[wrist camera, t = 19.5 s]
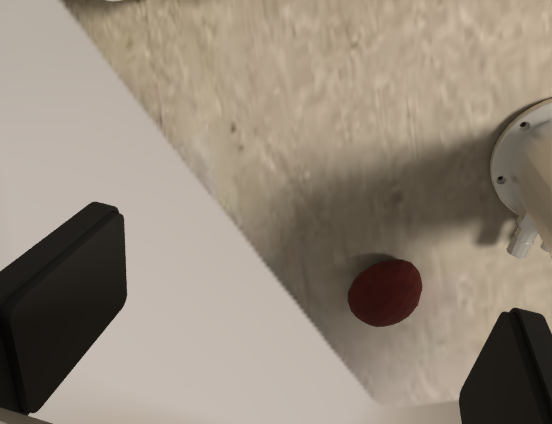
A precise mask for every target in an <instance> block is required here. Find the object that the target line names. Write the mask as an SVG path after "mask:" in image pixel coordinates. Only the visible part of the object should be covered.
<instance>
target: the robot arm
mask: <svg viewBox="0 0 552 424" xmlns="http://www.w3.org/2000/svg"><path fill="white" fill-rule="evenodd" d="M522 122H525V124H524V125H523V126H520V124H521V123H522ZM490 176H491V182H492V184H493V187H494V189H495V191H496V193H497V195H498V197H499V198H500V200H501V201H502V202H503V203H504V204H505V205H506V206H507V208H509V209H510V210H512V211H513V212H514V213H516V214H517V215H519V216H518V218H517V220H516V223H517V224H518V228H517V231H516V233H515V234H514V235H513V237H512V239H511V241H510V243H509V245H508V247H507V252H508V253H509V254H511V255H512V256H514V257H517V258H526V257H527V255H528V254H529V252H530V250H531V248H532V246H533V244H534V239H535V237H536V235H537V233H539V235H540V237H541V239H542V240H543V242H542V244H541V248H542V249H543V250H545V251H547V252H549V253H550V255H551V257H552V99H548V100H545V101H543V102H541V103H539V104H537V105H534V106H532V107H531V108H529V109H528V110H526V111H525V112H523V113H522V114H520V115H519V116H518V117H517V118H515V119H514V120H513V121H512V122H511V123H510V124H509V125H508V126H507V127H506V129H505V130H504V131H503V133H502V134H501V135H500V137H499V139H498V140H497V142H496V144H495V146H494V149H493V152H492V156H491V159H490ZM500 176H502V178H500V179H498V177H500ZM126 297H127V283H126V257H125V233H124V217H123V215H122V214H120V213H119V211H118V209H117V208H116V207H115V206H111V205H107V204H103V203H99V202H92V203H90V204H89V205H87V206H86V207H85V208H83V209H82V210H81V211H79V212H78V213H77V214H75V215H74V216H73V217H72V218H70V219H69V220H68V221H66V222H65V223H64V224H62V225H61V226H60V227H58V228H57V229H56V230H54V231H53V232H52V233H50V234H49V235H48V236H47V237H45V238H44V239H42V240H41V241H40V242H39V243H37V244H36V245H35V246H33V247H32V248H31V249H29V250H28V251H27V252H25V253H24V254H23V255H21V256H20V257H19V258H18V259H16V260H15V261H14V262H12V263H11V264H10V265H8V266H7V267H6V268H4V269H3V270H2V271H0V424H52V423H49V422H46V421H42V420H39V419H36V418H32V417H29V416H28V414H29V413H35V412H37V411H38V410H39V409H40V408H41V407H42V406H43V405H44V403H45V402H46V401H47V400H48V398H49V397H50V396H51V395H52V393H53V392H54V391H55V390H56V389H57V387H58V386H59V385H60V384H61V383H62V381H63V380H64V379H65V378H66V376H67V375H68V374H69V373H70V372H71V370H72V369H73V368H74V367H75V365H76V364H77V363H78V362H79V360H80V359H81V358H82V357H83V356H84V354H85V353H86V352H87V351H88V349H89V348H90V347H91V346H92V344H93V343H94V342H95V341H96V340H97V338H98V337H99V336H100V335H101V334H102V332H103V331H104V330H105V329H106V327H107V326H108V325H109V324H110V322H111V321H112V320H113V319H114V318H115V316H116V315H117V314H118V313H119V311H120V310H121V309H122V308H123V306H124V303H125V301H126ZM459 406H460V413H461V420H462V424H552V334H551V331H550V329H549V327H548V324H547V322H546V320H545V318H544V316H543V315H541V314H539V313H535V312H531V311H527V310H523V309H519V308H513V309H512V310H510V312H502V313H501V314H500V316H499V318H498V320H497V322H496V323H495V325H494V327H493V329H492V331H491V333H490V335H489V337H488V339H487V341H486V343H485V345H484V347H483V348H482V350H481V352H480V354H479V356H478V358H477V360H476V362H475V364H474V366H473V368H472V370H471V371H470V373H469V375H468V377H467V379H466V381H465V383H464V385H463V387H462V389H461V392H460V397H459Z"/></svg>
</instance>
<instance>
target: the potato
mask: <svg viewBox="0 0 552 424" xmlns="http://www.w3.org/2000/svg"><path fill="white" fill-rule="evenodd" d="M421 291H422V282H421V277H420V273H419V271H418V270H417V269H416V267H415V266H414V265H413V264H412V263H411V262H408V261H405V260H388V261H384V262H381V263H378V264H375V265H373V266H371V267H370V268H368V269H366V270H365V271H363V272H361V273H360V274H359V275H358V276H357V278H356V279H355V280H354V281H353V283H352V285H351V287H350V289H349V292H348V303H349V306H350V309H351V311H352V312H353V314H354V315H355V316H356V317H357V318H358V319H360V320H361V321H362V322H364V323H367V324H369V325H371V326H375V327H383V326H389V325H393V324H396V323H398V322H400V321H402V320H404V319H405V318H407V317H408V316H409V315H410V314H411V313H412V312H413V311H414V309H415V308H416V307H417V306H418V302H419V299H420V295H421Z"/></svg>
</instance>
